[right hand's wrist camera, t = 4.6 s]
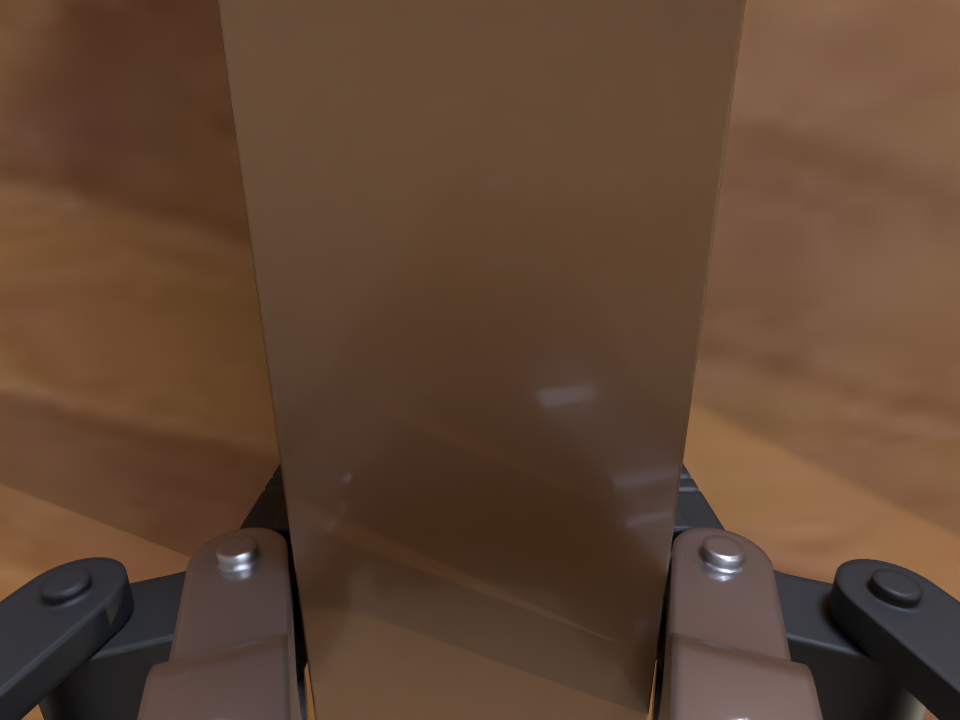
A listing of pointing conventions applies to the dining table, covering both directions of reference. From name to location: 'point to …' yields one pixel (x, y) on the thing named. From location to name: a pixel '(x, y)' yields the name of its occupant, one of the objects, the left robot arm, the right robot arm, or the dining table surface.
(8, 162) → the dining table surface
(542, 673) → the beam
